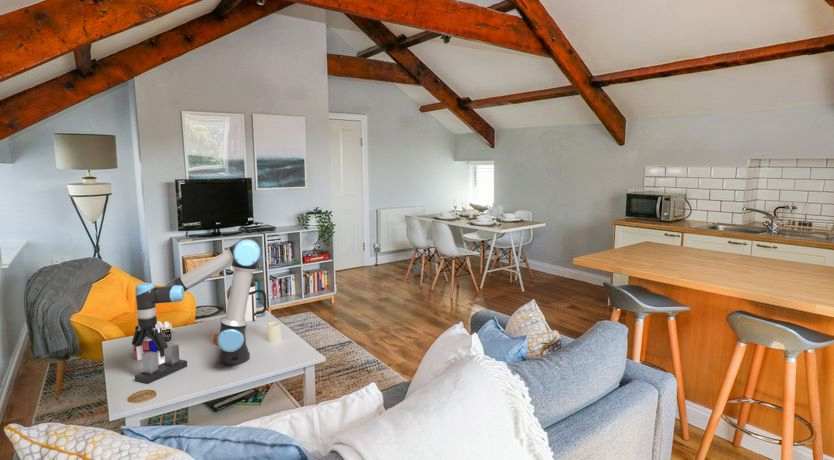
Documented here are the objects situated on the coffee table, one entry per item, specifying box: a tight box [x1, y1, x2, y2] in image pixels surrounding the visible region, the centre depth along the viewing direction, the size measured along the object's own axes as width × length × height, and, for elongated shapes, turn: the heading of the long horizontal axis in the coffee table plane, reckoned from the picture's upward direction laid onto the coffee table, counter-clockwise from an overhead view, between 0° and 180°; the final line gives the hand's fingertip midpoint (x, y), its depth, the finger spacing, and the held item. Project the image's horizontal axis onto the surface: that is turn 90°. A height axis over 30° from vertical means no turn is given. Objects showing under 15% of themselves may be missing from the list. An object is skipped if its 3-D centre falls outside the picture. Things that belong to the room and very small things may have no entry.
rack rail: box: [134, 358, 188, 385], centre depth 226 cm, size 8×22×3 cm, turn 158°
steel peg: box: [141, 352, 159, 376], centre depth 220 cm, size 4×4×12 cm
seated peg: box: [164, 343, 180, 366], centre depth 231 cm, size 4×4×12 cm
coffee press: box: [245, 279, 267, 323], centre depth 307 cm, size 17×16×30 cm
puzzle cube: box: [132, 337, 158, 360], centre depth 248 cm, size 10×10×10 cm
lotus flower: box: [155, 320, 176, 332], centre depth 283 cm, size 14×15×9 cm
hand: (150, 361), depth 220 cm, fingers open, 13 cm apart
